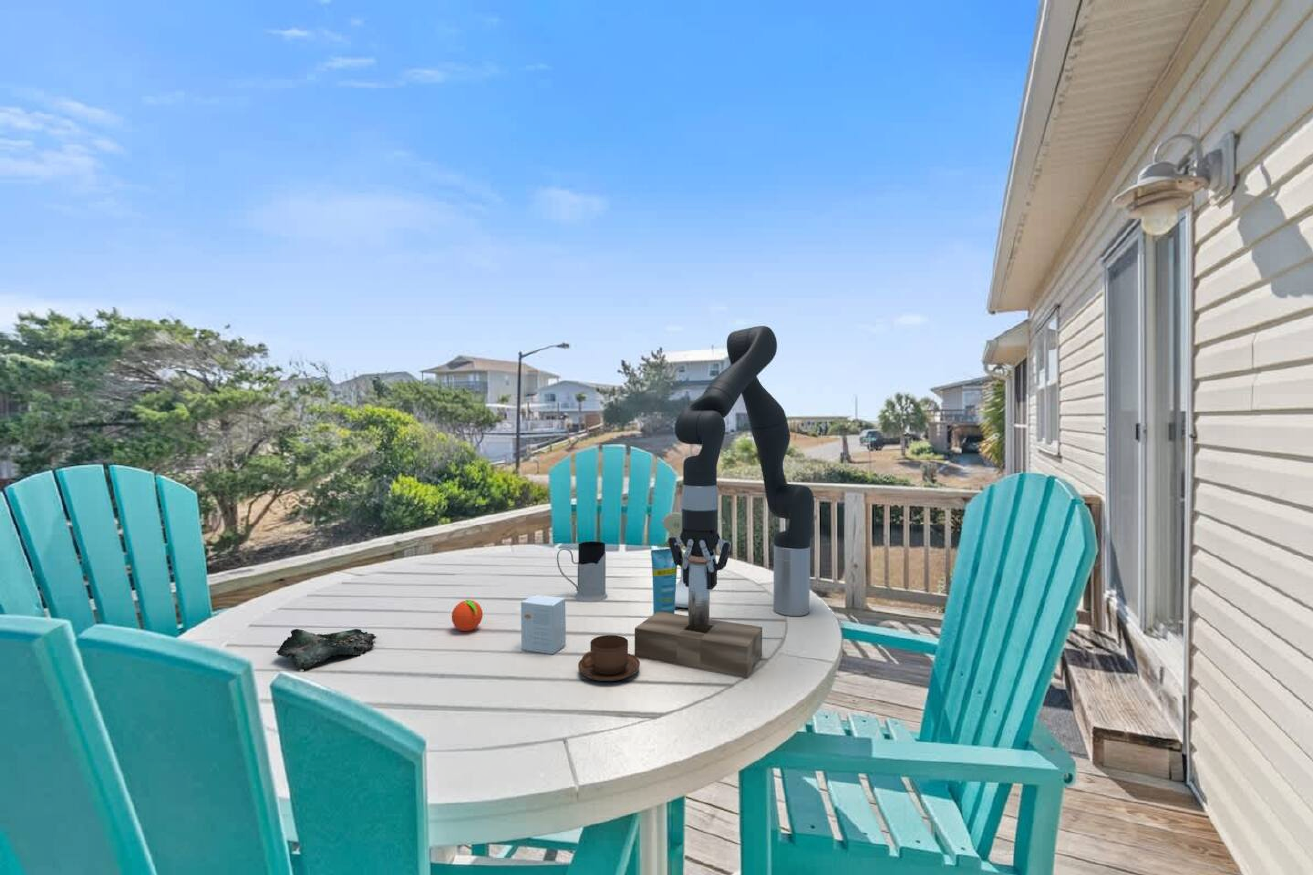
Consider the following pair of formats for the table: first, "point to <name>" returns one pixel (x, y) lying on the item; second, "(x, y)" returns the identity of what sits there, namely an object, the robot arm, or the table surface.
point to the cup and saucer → (608, 659)
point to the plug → (698, 591)
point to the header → (699, 644)
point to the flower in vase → (675, 526)
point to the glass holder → (590, 571)
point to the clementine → (467, 615)
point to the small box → (543, 624)
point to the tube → (663, 581)
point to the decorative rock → (323, 646)
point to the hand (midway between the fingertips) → (699, 586)
